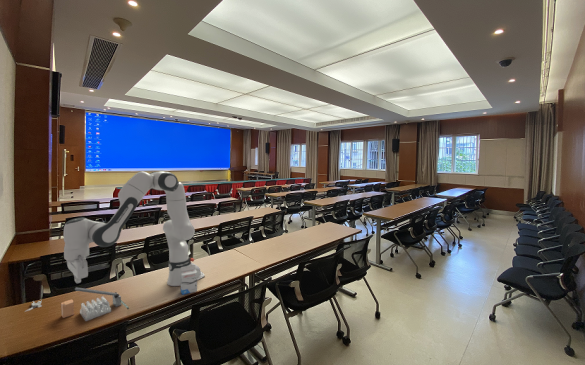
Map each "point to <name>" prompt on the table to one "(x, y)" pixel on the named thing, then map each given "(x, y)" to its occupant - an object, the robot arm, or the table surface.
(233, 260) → the table surface
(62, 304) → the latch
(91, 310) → the heatsink
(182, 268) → the ink box
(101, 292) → the strap
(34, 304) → the pliers
